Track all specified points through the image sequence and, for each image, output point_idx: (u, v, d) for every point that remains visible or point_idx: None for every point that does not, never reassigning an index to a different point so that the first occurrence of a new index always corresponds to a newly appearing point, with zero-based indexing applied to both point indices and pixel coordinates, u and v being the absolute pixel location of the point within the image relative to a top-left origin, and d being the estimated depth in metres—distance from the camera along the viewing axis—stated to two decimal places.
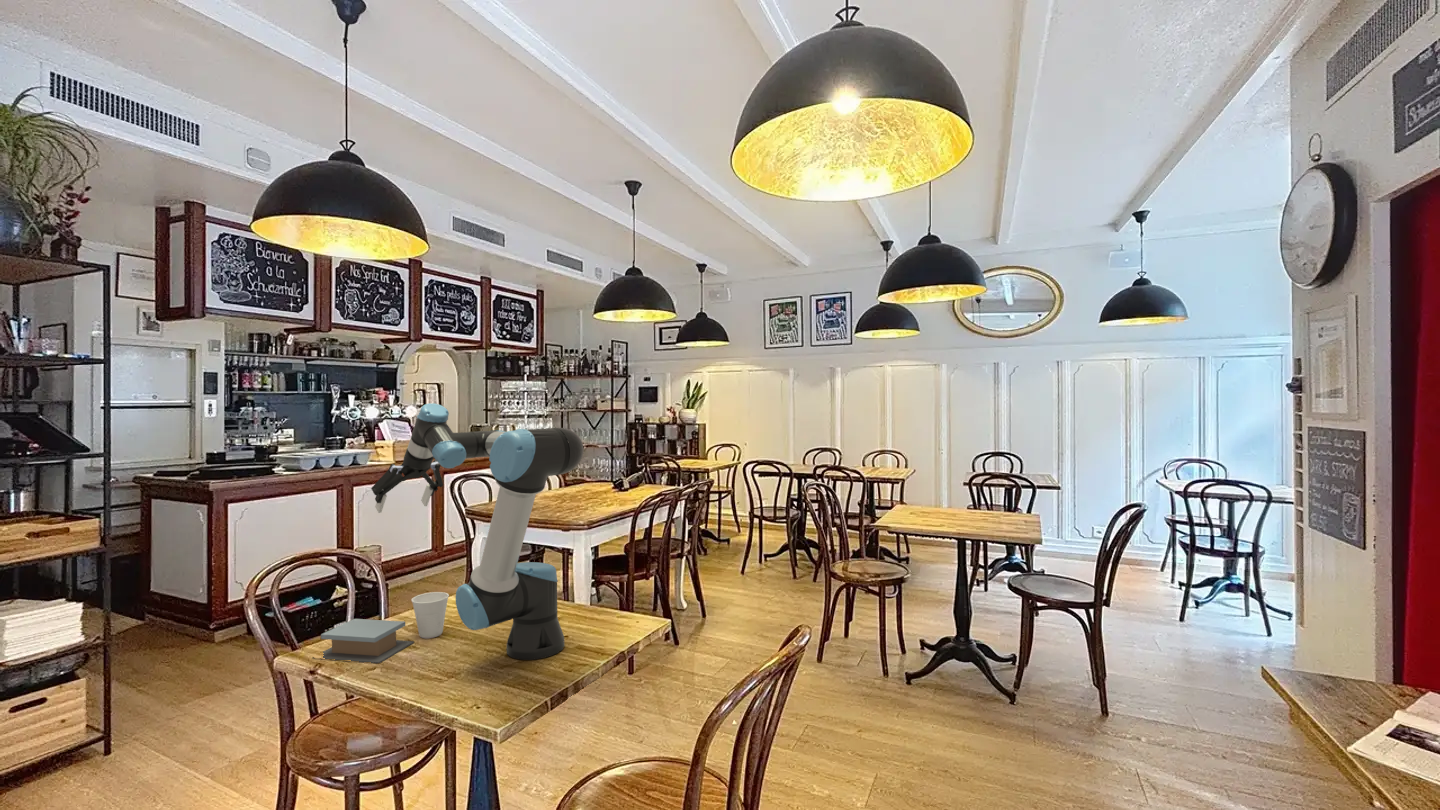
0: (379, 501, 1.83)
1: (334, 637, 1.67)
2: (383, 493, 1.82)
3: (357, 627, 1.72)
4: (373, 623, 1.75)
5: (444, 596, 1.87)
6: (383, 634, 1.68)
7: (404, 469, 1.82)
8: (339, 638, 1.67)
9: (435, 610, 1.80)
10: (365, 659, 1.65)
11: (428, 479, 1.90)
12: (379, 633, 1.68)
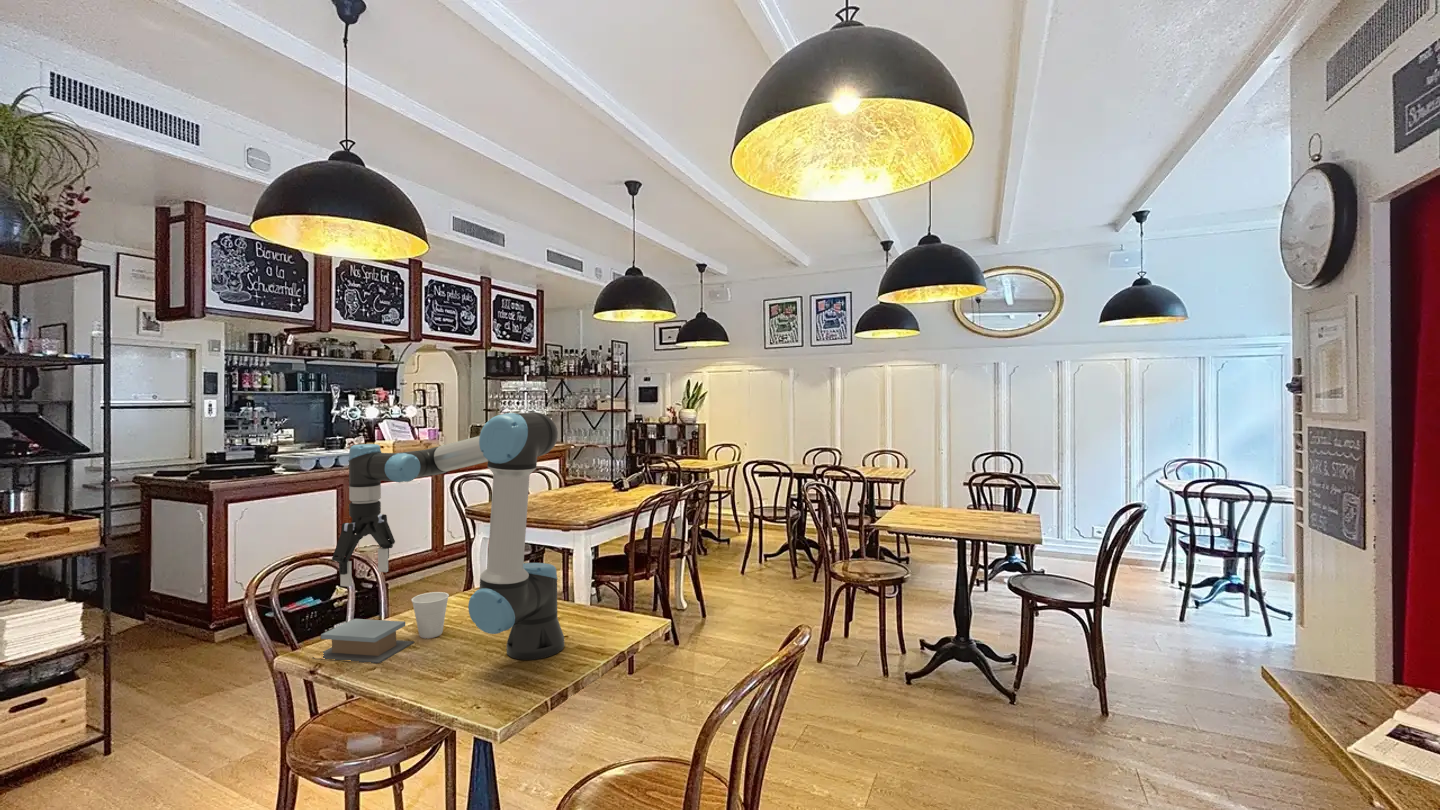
0: (345, 571, 1.65)
1: (334, 637, 1.67)
2: (347, 558, 1.65)
3: (357, 627, 1.72)
4: (373, 623, 1.75)
5: (444, 596, 1.87)
6: (383, 634, 1.68)
7: (358, 523, 1.69)
8: (339, 638, 1.67)
9: (435, 610, 1.80)
10: (365, 659, 1.65)
11: (381, 534, 1.77)
12: (379, 633, 1.68)
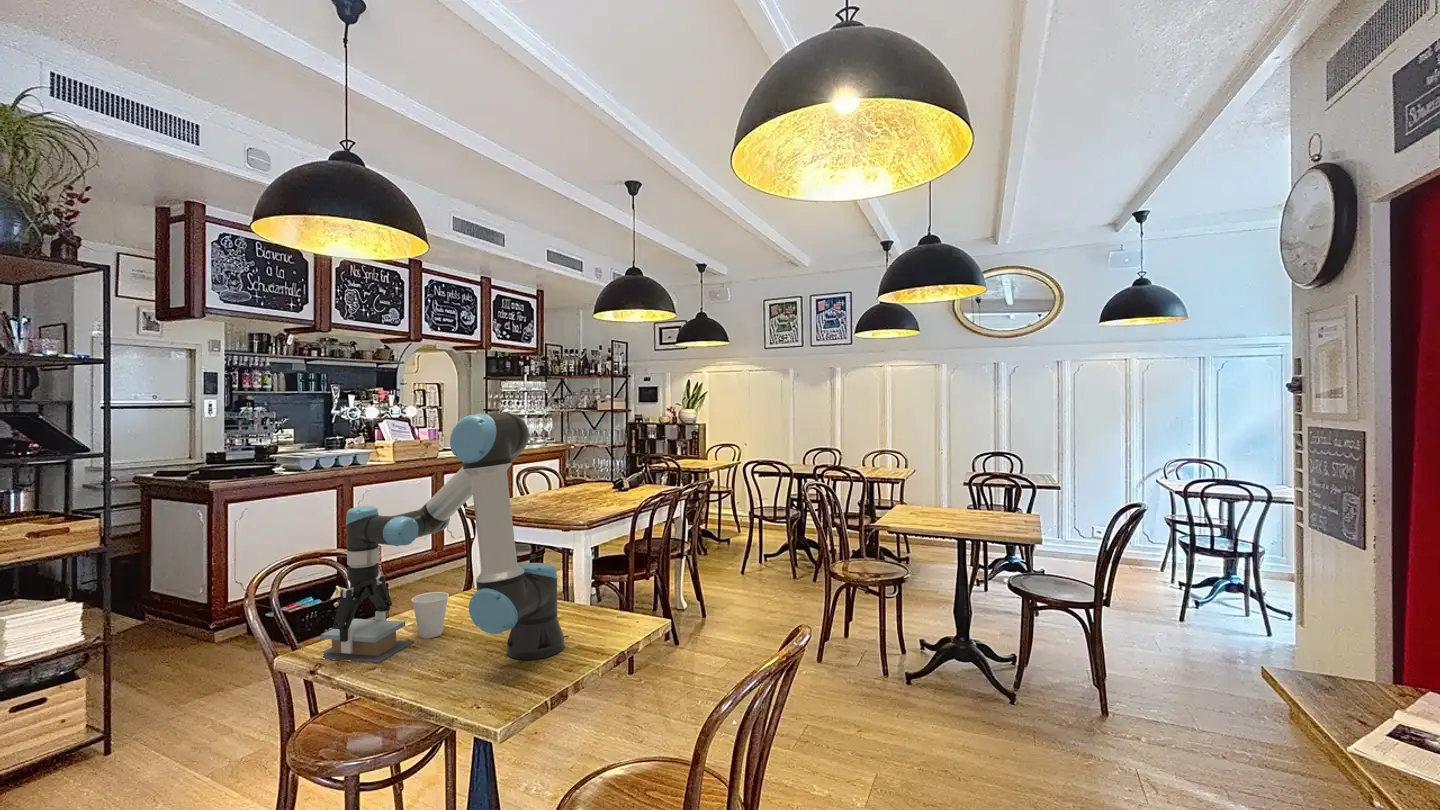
0: (346, 638, 1.65)
1: (334, 637, 1.67)
2: (348, 625, 1.65)
3: (357, 627, 1.72)
4: (373, 623, 1.75)
5: (444, 596, 1.87)
6: (383, 634, 1.68)
7: (356, 588, 1.68)
8: (339, 638, 1.67)
9: (435, 610, 1.80)
10: (365, 659, 1.65)
11: (379, 597, 1.76)
12: (379, 633, 1.68)
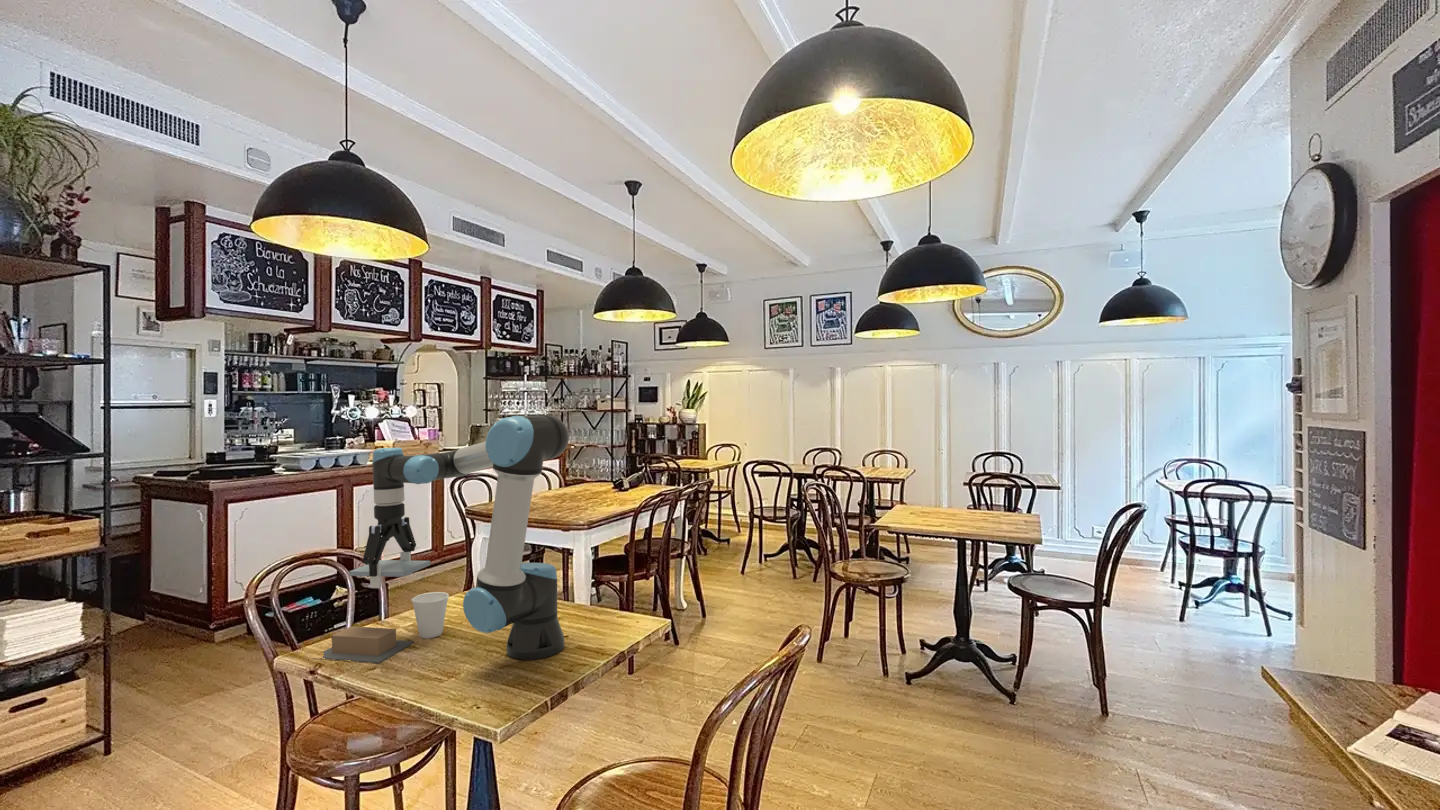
0: (375, 573, 1.69)
1: (362, 573, 1.70)
2: (377, 560, 1.69)
3: (384, 566, 1.76)
4: (398, 562, 1.79)
5: (444, 596, 1.87)
6: (411, 570, 1.72)
7: (384, 525, 1.72)
8: (368, 574, 1.70)
9: (435, 610, 1.80)
10: (365, 659, 1.65)
11: (404, 537, 1.80)
12: (407, 569, 1.72)
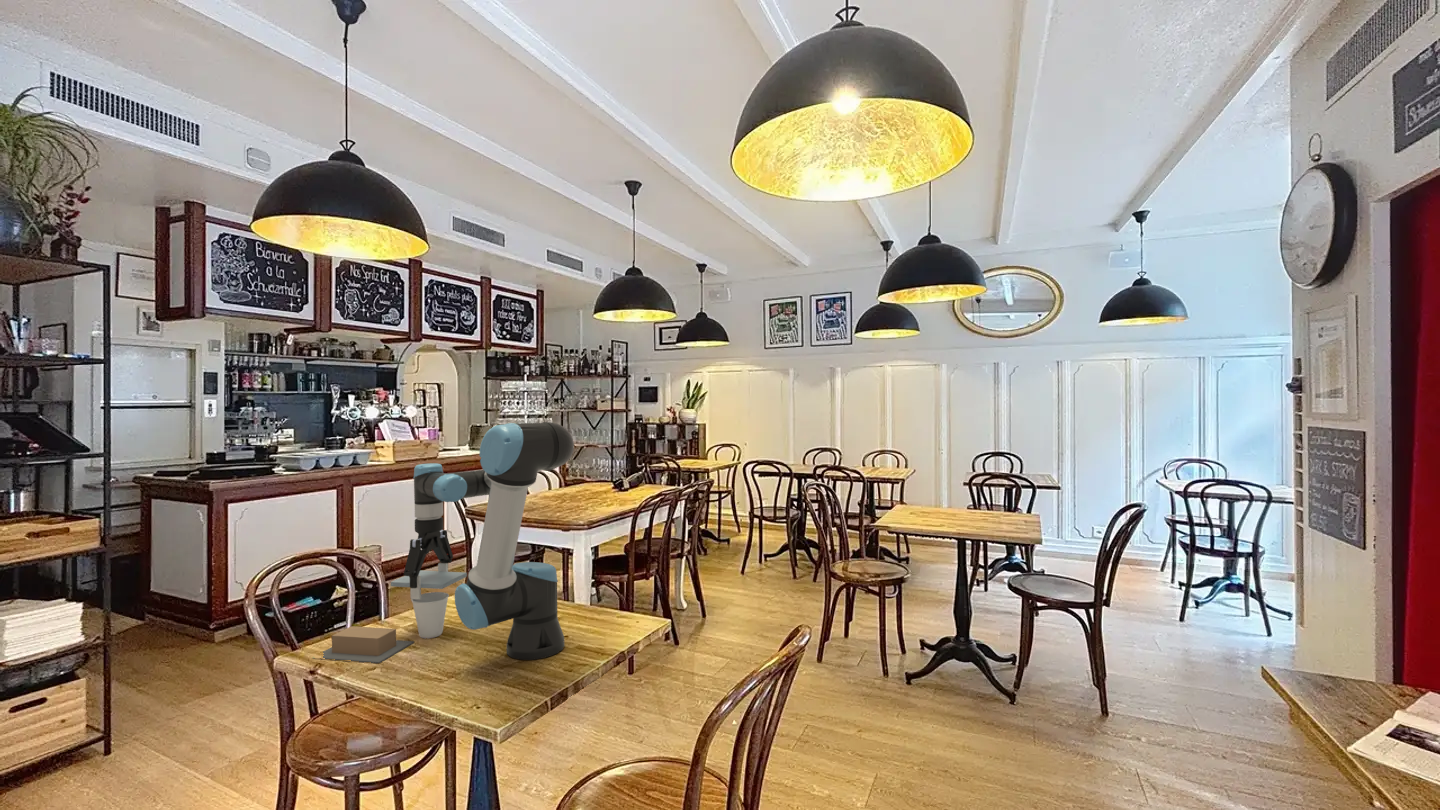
0: (415, 585, 1.76)
1: (403, 584, 1.78)
2: (417, 573, 1.76)
3: (423, 577, 1.83)
4: (437, 573, 1.86)
5: (444, 596, 1.87)
6: (449, 582, 1.79)
7: (424, 539, 1.79)
8: (408, 585, 1.77)
9: (435, 610, 1.80)
10: (365, 659, 1.65)
11: (442, 549, 1.87)
12: (445, 581, 1.79)
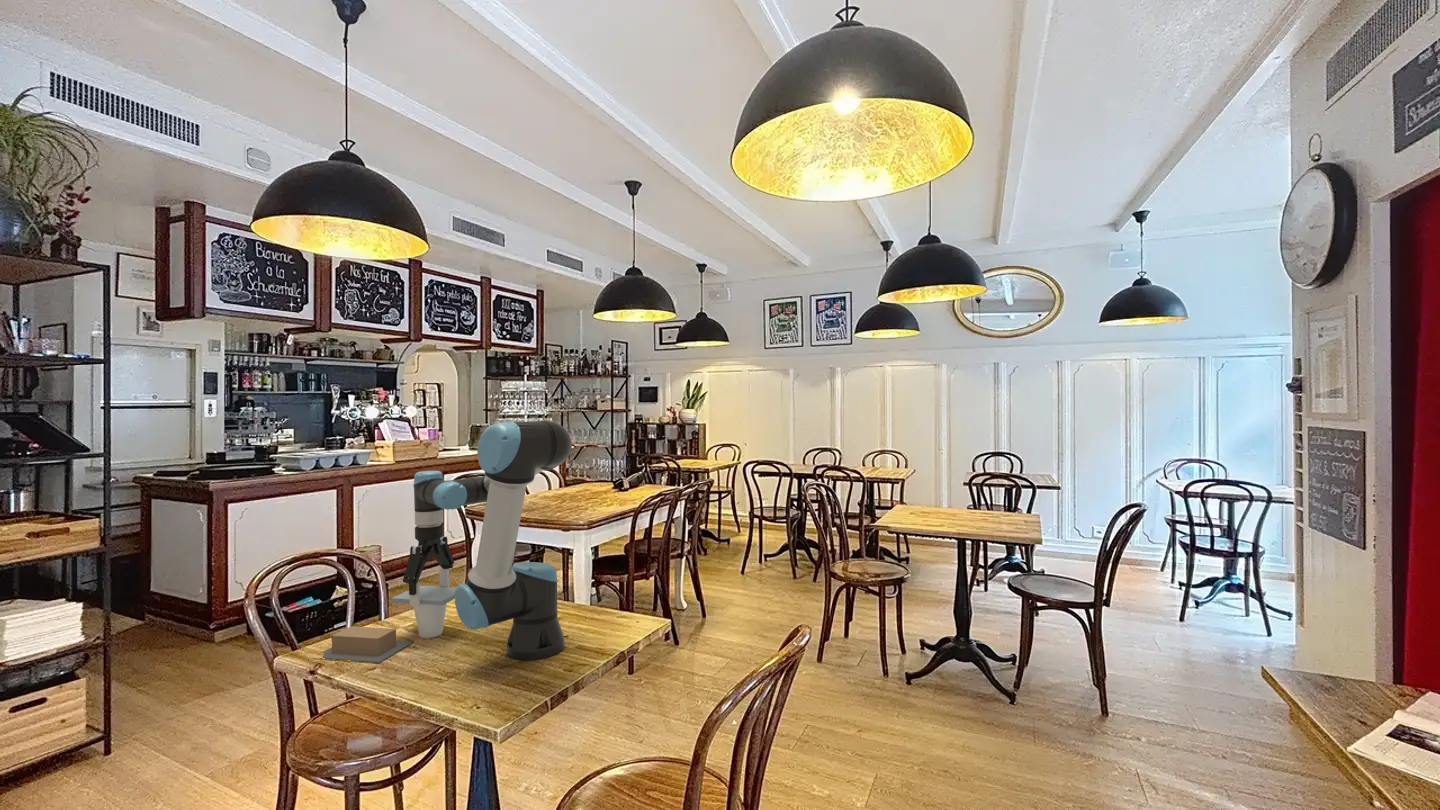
0: (415, 592, 1.75)
1: (404, 601, 1.78)
2: (416, 579, 1.75)
3: (423, 593, 1.83)
4: (437, 589, 1.86)
5: None
6: (449, 598, 1.79)
7: (424, 546, 1.79)
8: (409, 601, 1.77)
9: (435, 610, 1.80)
10: (365, 659, 1.65)
11: (443, 556, 1.87)
12: (446, 597, 1.79)
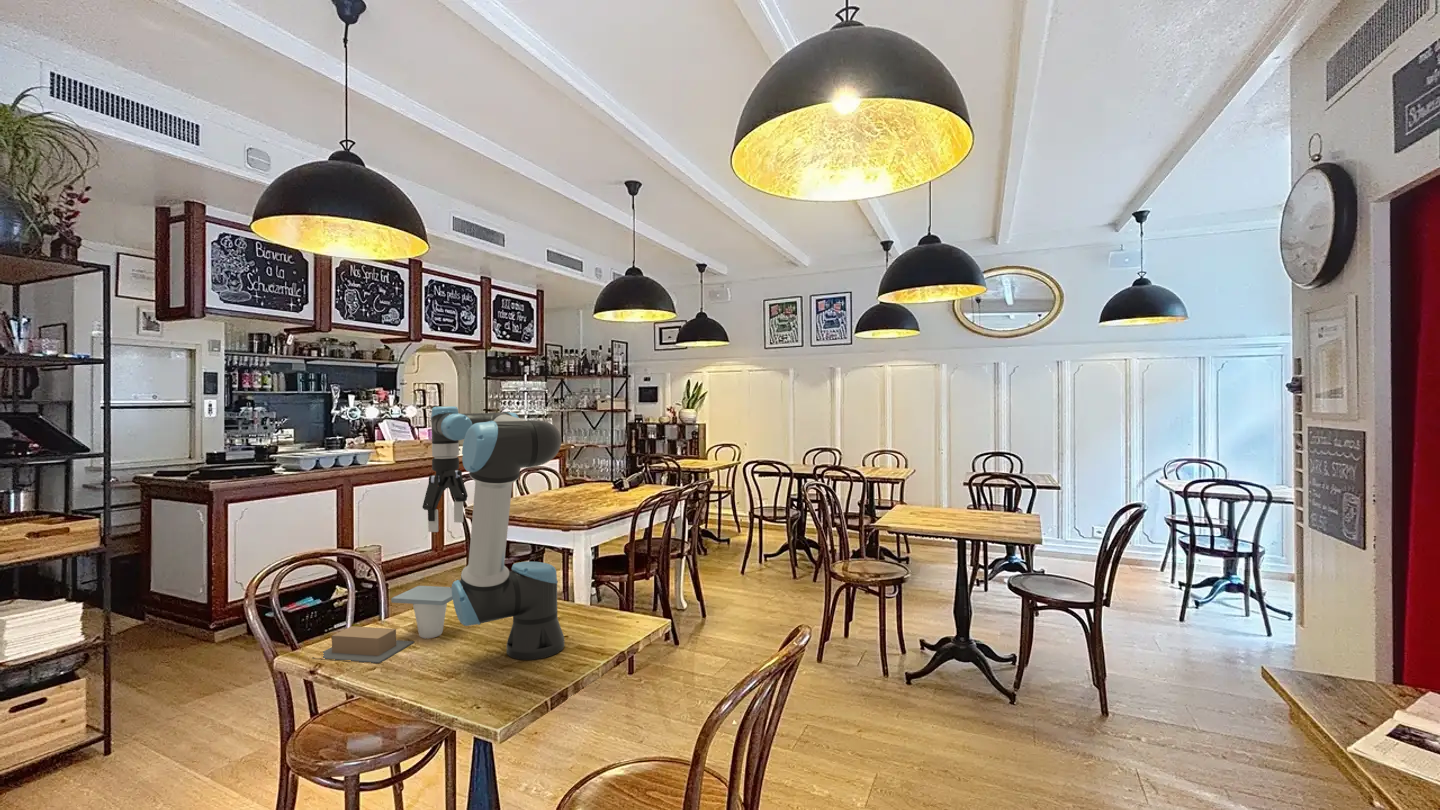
0: (433, 518, 1.84)
1: (404, 601, 1.78)
2: (435, 506, 1.84)
3: (423, 592, 1.83)
4: (437, 589, 1.86)
5: None
6: (449, 598, 1.79)
7: (441, 476, 1.88)
8: (409, 601, 1.77)
9: (435, 610, 1.80)
10: (365, 659, 1.65)
11: (458, 488, 1.96)
12: (446, 597, 1.79)
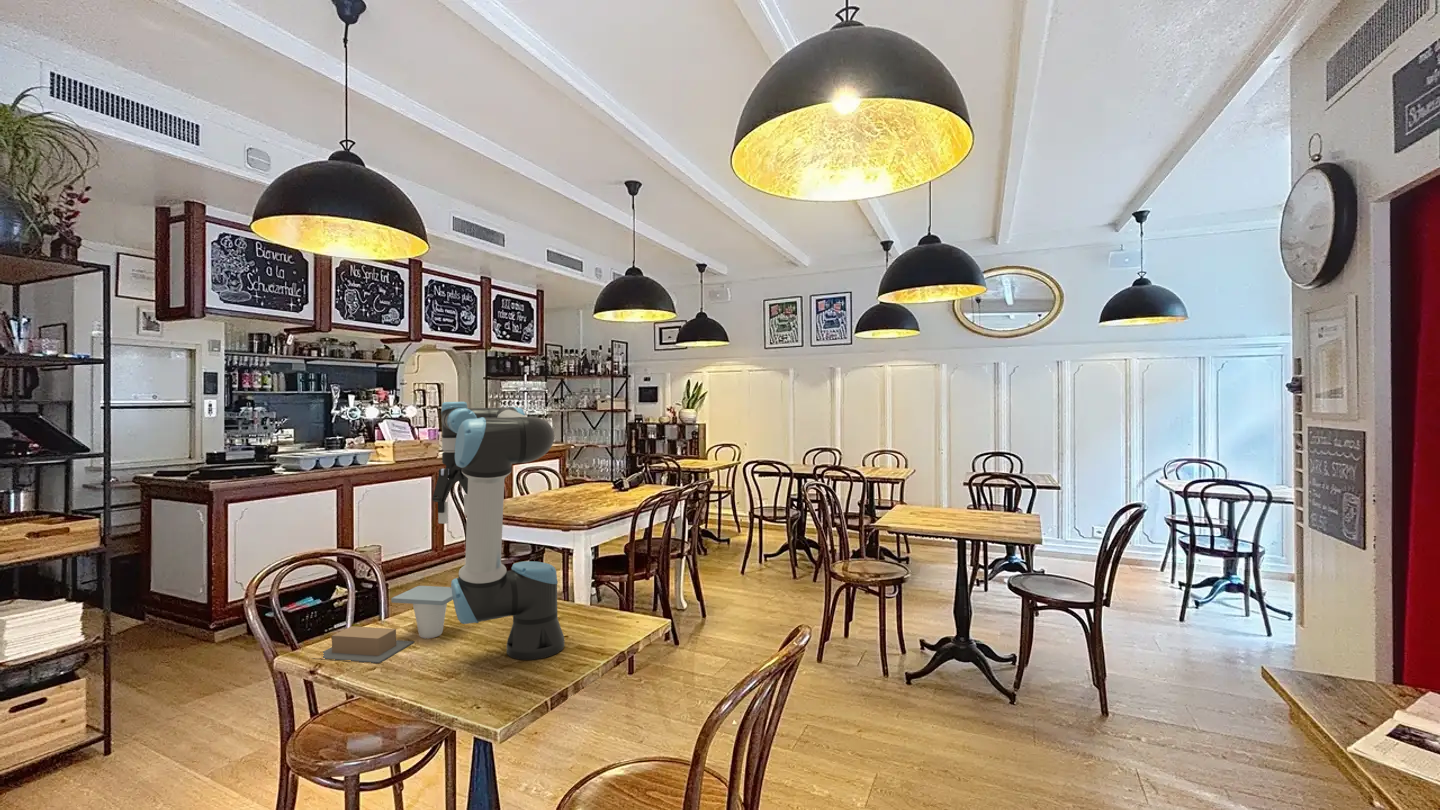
0: (443, 510, 1.90)
1: (404, 601, 1.78)
2: (445, 498, 1.90)
3: (423, 592, 1.83)
4: (437, 589, 1.86)
5: None
6: (449, 598, 1.79)
7: (451, 469, 1.93)
8: (409, 601, 1.77)
9: (434, 610, 1.80)
10: (365, 659, 1.65)
11: (467, 481, 2.02)
12: (446, 597, 1.79)
